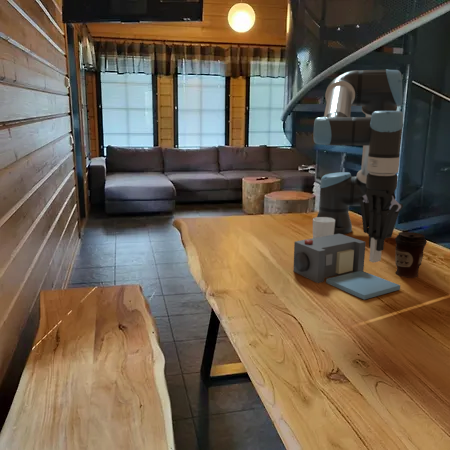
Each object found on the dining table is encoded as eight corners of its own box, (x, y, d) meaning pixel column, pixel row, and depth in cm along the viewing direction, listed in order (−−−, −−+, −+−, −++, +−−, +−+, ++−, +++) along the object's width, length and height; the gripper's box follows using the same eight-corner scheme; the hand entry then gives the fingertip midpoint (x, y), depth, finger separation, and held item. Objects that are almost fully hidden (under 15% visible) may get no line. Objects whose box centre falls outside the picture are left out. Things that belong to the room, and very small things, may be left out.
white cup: (309, 248, 165) (310, 221, 163) (313, 242, 172) (315, 216, 170) (331, 250, 162) (333, 223, 160) (335, 244, 169) (336, 218, 167)
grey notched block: (337, 263, 149) (339, 231, 146) (363, 273, 140) (365, 239, 137) (289, 273, 140) (291, 239, 137) (313, 285, 130) (315, 249, 128)
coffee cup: (407, 283, 132) (411, 239, 129) (385, 274, 139) (389, 232, 136) (428, 278, 136) (433, 235, 133) (405, 269, 143) (410, 229, 140)
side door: (360, 270, 137) (400, 285, 125) (360, 276, 138) (399, 292, 126) (326, 278, 131) (364, 295, 119) (325, 285, 131) (363, 302, 119)
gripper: (352, 171, 121) (347, 256, 127) (392, 178, 110) (384, 271, 116) (373, 168, 124) (366, 251, 131) (413, 175, 114) (404, 265, 120)
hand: (374, 260), depth 123 cm, fingers closed
